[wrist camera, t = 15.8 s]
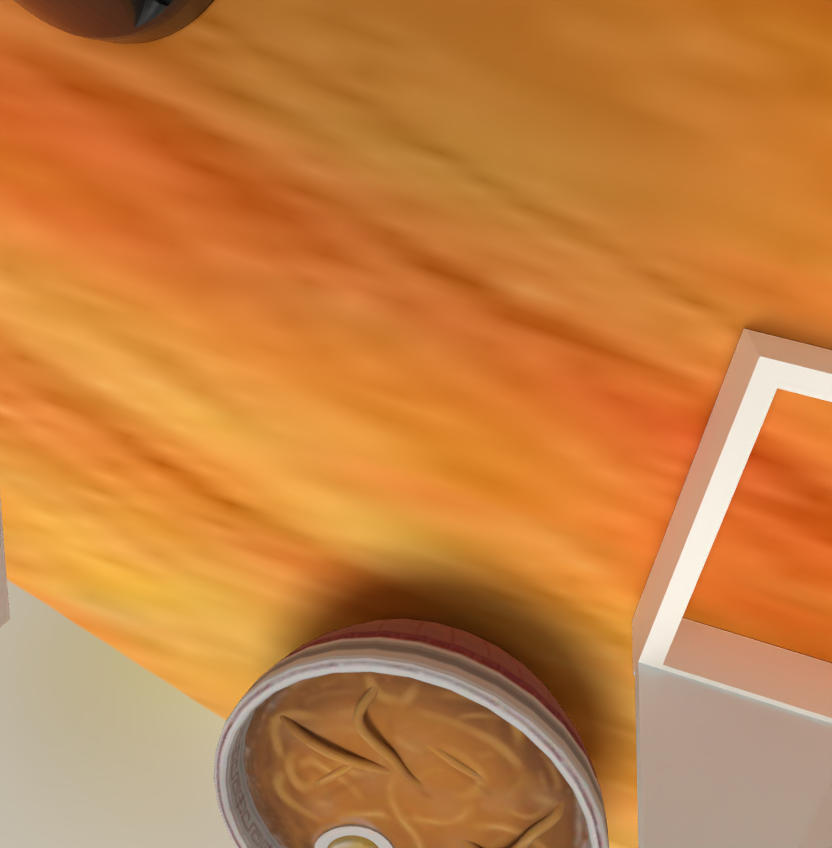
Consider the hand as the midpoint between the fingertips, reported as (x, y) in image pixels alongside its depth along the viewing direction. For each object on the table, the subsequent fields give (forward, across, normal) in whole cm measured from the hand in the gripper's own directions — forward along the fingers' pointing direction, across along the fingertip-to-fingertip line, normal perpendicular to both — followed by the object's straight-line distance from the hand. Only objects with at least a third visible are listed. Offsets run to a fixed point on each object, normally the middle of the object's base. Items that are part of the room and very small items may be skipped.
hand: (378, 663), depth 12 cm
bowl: (+31, -1, -30) cm, 43 cm away
